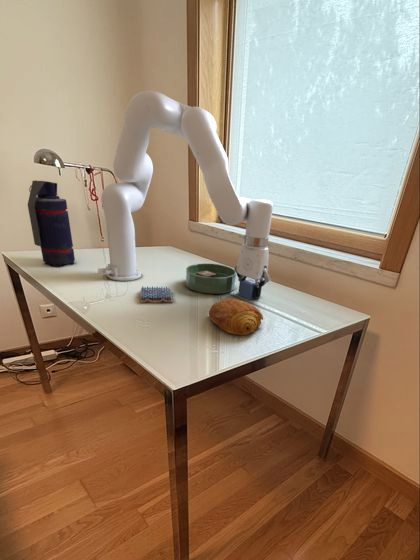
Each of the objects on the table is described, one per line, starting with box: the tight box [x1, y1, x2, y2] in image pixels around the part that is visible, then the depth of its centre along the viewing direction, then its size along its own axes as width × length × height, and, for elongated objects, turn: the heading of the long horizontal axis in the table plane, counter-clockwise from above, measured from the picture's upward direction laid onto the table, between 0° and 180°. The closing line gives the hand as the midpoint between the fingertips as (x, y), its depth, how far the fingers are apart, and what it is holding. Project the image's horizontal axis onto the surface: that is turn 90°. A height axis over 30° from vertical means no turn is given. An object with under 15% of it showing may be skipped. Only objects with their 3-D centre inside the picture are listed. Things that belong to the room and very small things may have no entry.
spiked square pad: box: [139, 285, 174, 303], centre depth 105 cm, size 10×11×2 cm
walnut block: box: [196, 271, 216, 278], centre depth 114 cm, size 5×5×5 cm
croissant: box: [208, 297, 264, 336], centre depth 89 cm, size 14×16×8 cm
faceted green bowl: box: [185, 262, 237, 295], centre depth 117 cm, size 18×18×6 cm
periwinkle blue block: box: [238, 278, 260, 300], centre depth 111 cm, size 5×5×5 cm
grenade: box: [27, 180, 76, 268], centre depth 123 cm, size 14×12×30 cm
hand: (249, 294), depth 112 cm, fingers open, 5 cm apart
